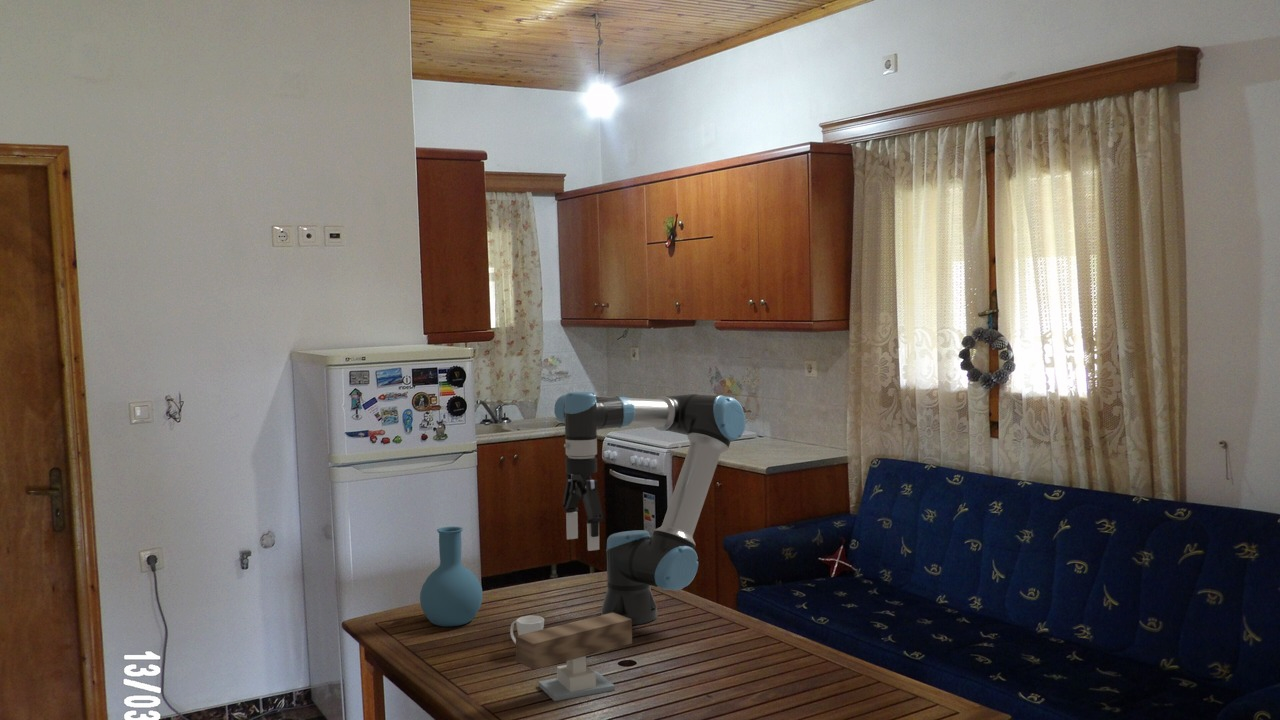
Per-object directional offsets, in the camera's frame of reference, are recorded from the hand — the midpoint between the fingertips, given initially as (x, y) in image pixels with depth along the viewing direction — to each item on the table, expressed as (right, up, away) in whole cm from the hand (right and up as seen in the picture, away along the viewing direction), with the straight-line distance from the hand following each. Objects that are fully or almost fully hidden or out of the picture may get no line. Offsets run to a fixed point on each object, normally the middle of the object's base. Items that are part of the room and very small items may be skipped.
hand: (582, 544), depth 244 cm
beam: (0, -20, -22) cm, 29 cm away
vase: (-37, -26, +29) cm, 54 cm away
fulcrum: (0, -28, -21) cm, 35 cm away
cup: (-14, -27, +4) cm, 31 cm away
